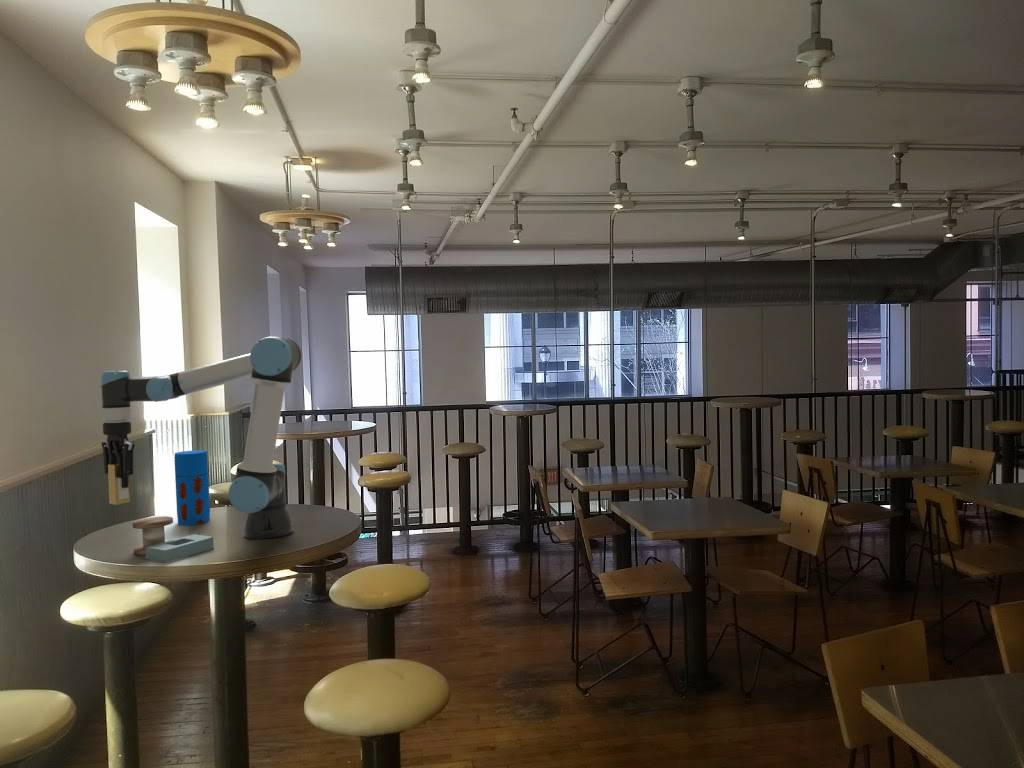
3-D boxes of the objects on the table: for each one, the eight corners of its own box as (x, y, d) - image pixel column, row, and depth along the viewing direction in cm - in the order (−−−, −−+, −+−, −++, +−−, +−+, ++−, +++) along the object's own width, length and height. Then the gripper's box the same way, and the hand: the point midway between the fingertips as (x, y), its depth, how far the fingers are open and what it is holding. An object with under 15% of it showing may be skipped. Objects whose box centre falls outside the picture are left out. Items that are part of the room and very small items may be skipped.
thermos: (215, 521, 251) (211, 451, 250) (183, 526, 244) (180, 455, 243) (203, 516, 259) (200, 449, 258) (173, 522, 252) (169, 452, 251)
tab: (123, 500, 217) (122, 462, 217) (130, 501, 215) (129, 463, 215) (109, 503, 213) (107, 464, 213) (115, 504, 211) (114, 465, 211)
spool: (182, 547, 215) (180, 518, 215) (148, 557, 206) (147, 526, 205) (159, 544, 220) (158, 515, 220) (125, 553, 211) (124, 522, 211)
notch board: (194, 545, 218) (193, 534, 218) (213, 548, 213) (213, 537, 213) (146, 558, 204) (145, 547, 204) (165, 562, 199) (165, 550, 199)
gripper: (144, 421, 212) (147, 498, 213) (113, 419, 221) (116, 493, 222) (120, 423, 206) (123, 502, 207) (89, 421, 214) (91, 497, 215)
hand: (119, 497), depth 214 cm, fingers closed on tab, 3 cm apart
